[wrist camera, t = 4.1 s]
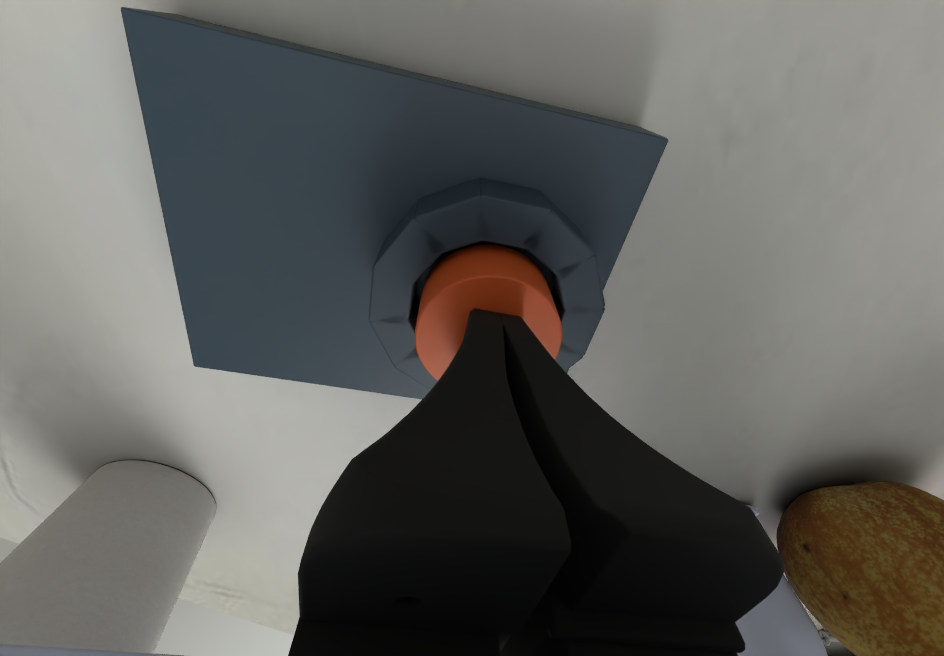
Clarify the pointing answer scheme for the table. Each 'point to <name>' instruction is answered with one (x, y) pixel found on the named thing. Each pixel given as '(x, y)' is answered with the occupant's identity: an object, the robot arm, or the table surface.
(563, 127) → the grey base slab
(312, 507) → the table surface
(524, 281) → the lid button
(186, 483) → the coffee cup
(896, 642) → the fruit
